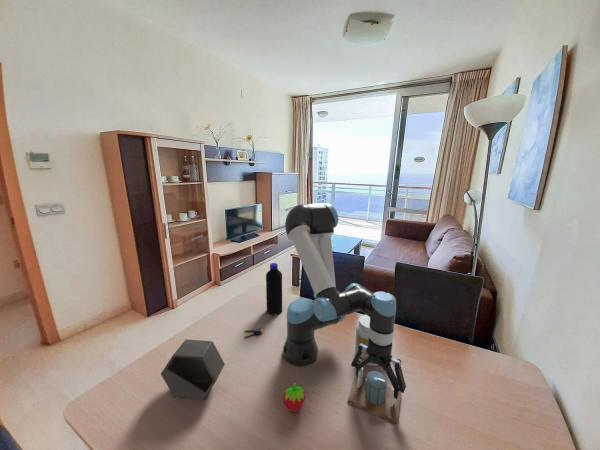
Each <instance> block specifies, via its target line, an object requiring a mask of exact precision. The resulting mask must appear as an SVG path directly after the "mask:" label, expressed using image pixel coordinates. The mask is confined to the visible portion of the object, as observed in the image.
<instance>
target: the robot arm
mask: <svg viewBox="0 0 600 450" xmlns="http://www.w3.org/2000/svg"><path fill="white" fill-rule="evenodd" d="M284 224H285V225H284V226H285V227H284V228H285V229H284V230H285V232H286V235H287V238H288V240H290V241H292V243H293V245H294V248H295V251H296V252H297V253H296V254H297V255H298V257H299V259H300V262H301V265H302V267H303V269H304V272H305V274H306V276H307V278H308V281H309V283H310V286H311V289H312V291H313V300H312V299H310V298H308V297H307V298H304V297H302V298H301V297H300V298H297V299H295V300H293V301H291V302H290V303H289V305H288V307H287V312H286V328H287V329H286V331H287V332H286V333H287V334H286V337H285V338H286V339H285V341H284V344H283V348H282V355H283V357H284V360H285V361H286V362H287V363H288V364H291V365H294V366H299V367H300V366H301V367H303V366H308V365H310V364H313V363H314V362H315V361H316V360H317V358H318V355H319V347H318V344H317V341H316V337H315V331H318V330H321V329H323V328H326V327H329V326H331V325H336V324H338V323H341V322H342V321H343V320H344V319H345V318H346V316H347V315H351V314H353V313H357V312H362V313H363V314H364V315H368V316H369V317H370V326H369V338H368V346H365V345H364V343H363V342H362V343H361V344H360V345H359V347H358V352H357V354H356V355H355V356H354V358H353V359H352V362H351V364H350V365H351V367H353V368H355V378H356V377H358V383H357V387H358V388H360V386H361V384H362V380H363V377H364V367H366V366H367V365H366V364H367V363H369V362H371V361H373V363H375V364H378V365H377V366H379V367H382V369H383V371H384V372H385V373H386V376H387V378H388V379H389V381H390V384H391V386H392V387H391V388H392V390H391V399H390V406H391V407H392V406H393V404H394V401H395V398H396V399H397V398H398V395H399V391H401V394H404V392H405V391H406V388H407V384H406V382H405V377H404V374H403V370H402V360H401V359H400V358H397V359H395V358H394V357H393V356H392V351H393V350H392V349H393V340H394V331H395V320H396V314H397V298H396V297H395V296H394V295H393V294H391V293H390V292H385V291H376V292H373V291H371V290H369V289H368V288H366V287H365V286H363V285H361V284H358V283H356V282H353V283H350V284H349V285H348V286H347V287H345V290H344V291H341V292H339V291H338V289H337V288H336V277H335V276H336V275H335V266H334V256H333V255H334V254H333V245H332V236H333V235H334V233H335V228H336V227H337V226H338V224H339V215H338V212H337V210H336V208H335V207H334V206H333V204H330V203H326V202H325V203H324V202H320V203H319V202H318V203H307V204H304V203H303V204H297V205H295V206H293V207H292V208H291V209H290V210H289V211H288V213H287V215H286V218H285V223H284ZM365 350H366V351H367V353H368V355H369V356H367V357H366V358H365V359H364V360H362V361H361V362H360V361H359V360H358V359H359V358H360V356H361V354H362V352H364V351H365ZM358 361H359V362H358ZM391 363H392V364H391ZM392 366H393V367H392ZM393 368H394V370H393Z"/></svg>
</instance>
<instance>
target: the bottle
mask: <svg viewBox="0 0 600 450" xmlns="http://www.w3.org/2000/svg"><path fill="white" fill-rule="evenodd" d="M278 267H279V266H278V263H277V262H272V263H269V270H268V271H267V272H266V274H265V286H266V287H265V289H266V291H265V292H266V313H267V312H268V313H269V315H271V314H272V315H271V316H277V315H280V314H281V313H283V273H282V272H281V270H279V269H278ZM268 313H267V314H268ZM279 313H280V314H279ZM276 314H277V315H276Z"/></svg>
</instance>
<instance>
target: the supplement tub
mask: <svg viewBox="0 0 600 450" xmlns="http://www.w3.org/2000/svg"><path fill="white" fill-rule="evenodd" d="M369 326H370V317H369V316H368V315H366V314H364V315H361V316H360V317H358V323H357V324H356V327H355V328H356V329H355V330H356V331H355V344H354V345H355V347H354V355H355V356H356V354H357V352H358V347H359V345H360V344H361V343H362V342H363V343H364V345H365V346H368V338H369ZM367 356H369V355H368V353H367V351H366V350H365V351H364V352H362V354H361V356H360V358H359V359H358V361H359V362H361V361H362V360H364V359H365V358H366V357H367ZM365 366H370V367H376V366H379V365H378V364H375V363H373V361H371V362H369V363H367V364H366V365H365Z"/></svg>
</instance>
